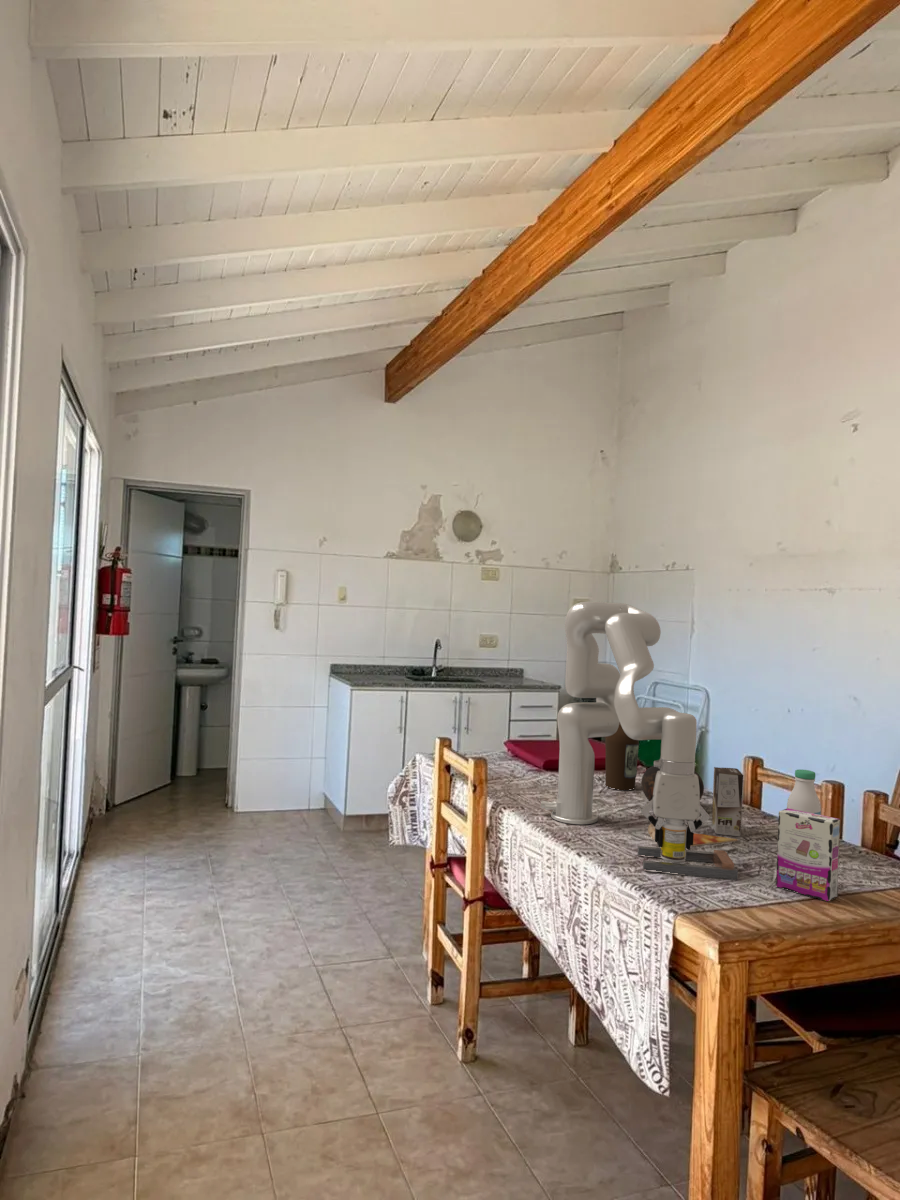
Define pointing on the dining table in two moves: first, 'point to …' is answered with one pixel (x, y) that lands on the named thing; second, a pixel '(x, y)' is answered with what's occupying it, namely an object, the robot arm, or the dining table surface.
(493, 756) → the dining table surface
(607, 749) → the olive oil
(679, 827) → the supplement bottle
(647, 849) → the frame
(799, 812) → the candy bar box
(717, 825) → the coffee box
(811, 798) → the milk bottle
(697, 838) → the pizza slice
